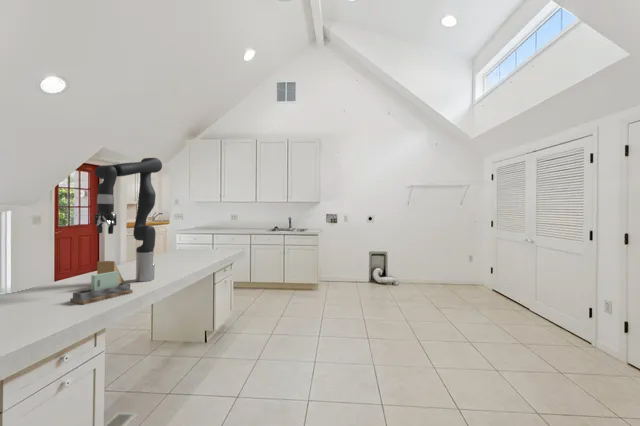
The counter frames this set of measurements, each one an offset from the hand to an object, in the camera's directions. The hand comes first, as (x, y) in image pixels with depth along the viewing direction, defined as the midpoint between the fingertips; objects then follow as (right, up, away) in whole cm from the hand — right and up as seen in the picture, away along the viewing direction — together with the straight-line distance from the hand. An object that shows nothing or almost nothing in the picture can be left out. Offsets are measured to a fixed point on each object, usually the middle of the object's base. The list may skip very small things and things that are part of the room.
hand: (105, 233), depth 178 cm
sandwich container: (-3, -30, +11) cm, 32 cm away
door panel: (+9, -29, -14) cm, 33 cm away
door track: (+8, -30, -14) cm, 35 cm away
